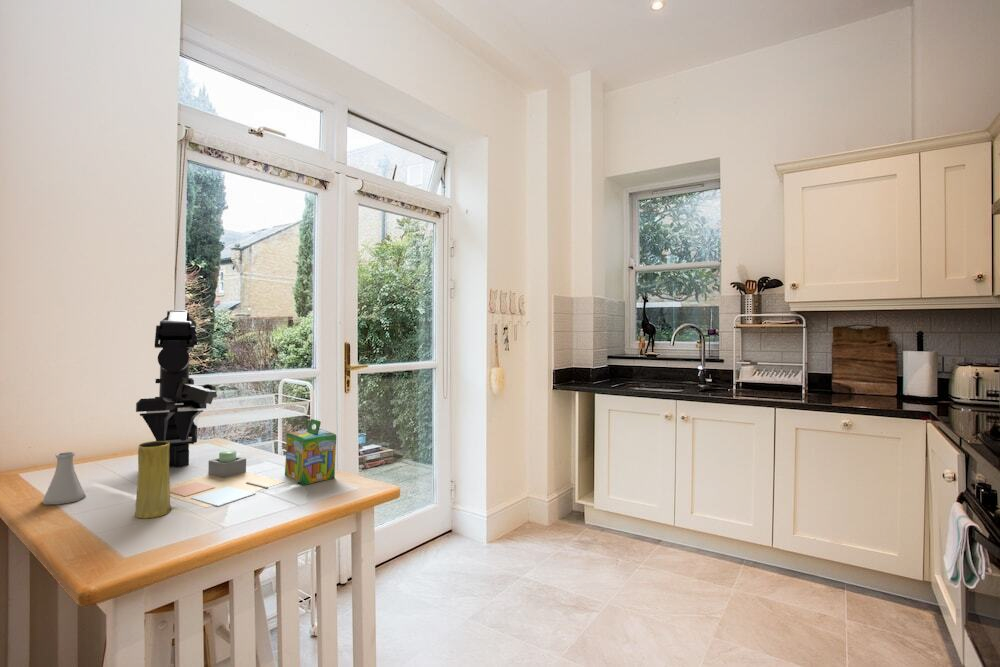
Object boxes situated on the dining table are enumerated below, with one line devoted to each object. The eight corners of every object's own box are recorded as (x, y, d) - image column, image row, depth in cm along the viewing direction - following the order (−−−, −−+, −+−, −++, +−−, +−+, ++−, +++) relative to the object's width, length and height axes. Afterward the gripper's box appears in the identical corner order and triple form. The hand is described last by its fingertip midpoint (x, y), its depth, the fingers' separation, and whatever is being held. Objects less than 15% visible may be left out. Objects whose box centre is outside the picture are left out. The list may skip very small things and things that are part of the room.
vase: (127, 515, 102) (128, 445, 102) (158, 505, 108) (159, 439, 108) (147, 521, 100) (149, 449, 100) (177, 510, 106) (179, 442, 105)
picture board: (149, 493, 115) (149, 489, 115) (230, 471, 133) (230, 467, 133) (211, 512, 105) (211, 507, 105) (289, 485, 123) (289, 481, 123)
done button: (215, 466, 128) (215, 452, 128) (229, 463, 131) (229, 449, 131) (225, 469, 126) (225, 455, 126) (239, 465, 129) (239, 451, 129)
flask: (36, 507, 105) (37, 459, 104) (48, 496, 111) (48, 450, 111) (81, 503, 108) (81, 456, 108) (90, 492, 114) (90, 448, 114)
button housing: (208, 474, 127) (208, 460, 127) (230, 468, 133) (230, 455, 132) (224, 478, 125) (224, 464, 124) (245, 472, 130) (246, 458, 130)
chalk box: (283, 477, 129) (285, 419, 129) (317, 470, 136) (318, 415, 136) (302, 486, 123) (303, 425, 123) (336, 478, 130) (337, 421, 130)
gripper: (189, 370, 110) (188, 444, 108) (228, 374, 128) (227, 437, 127) (135, 373, 109) (132, 447, 107) (182, 376, 127) (180, 439, 126)
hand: (172, 442), depth 117 cm, fingers open, 9 cm apart
